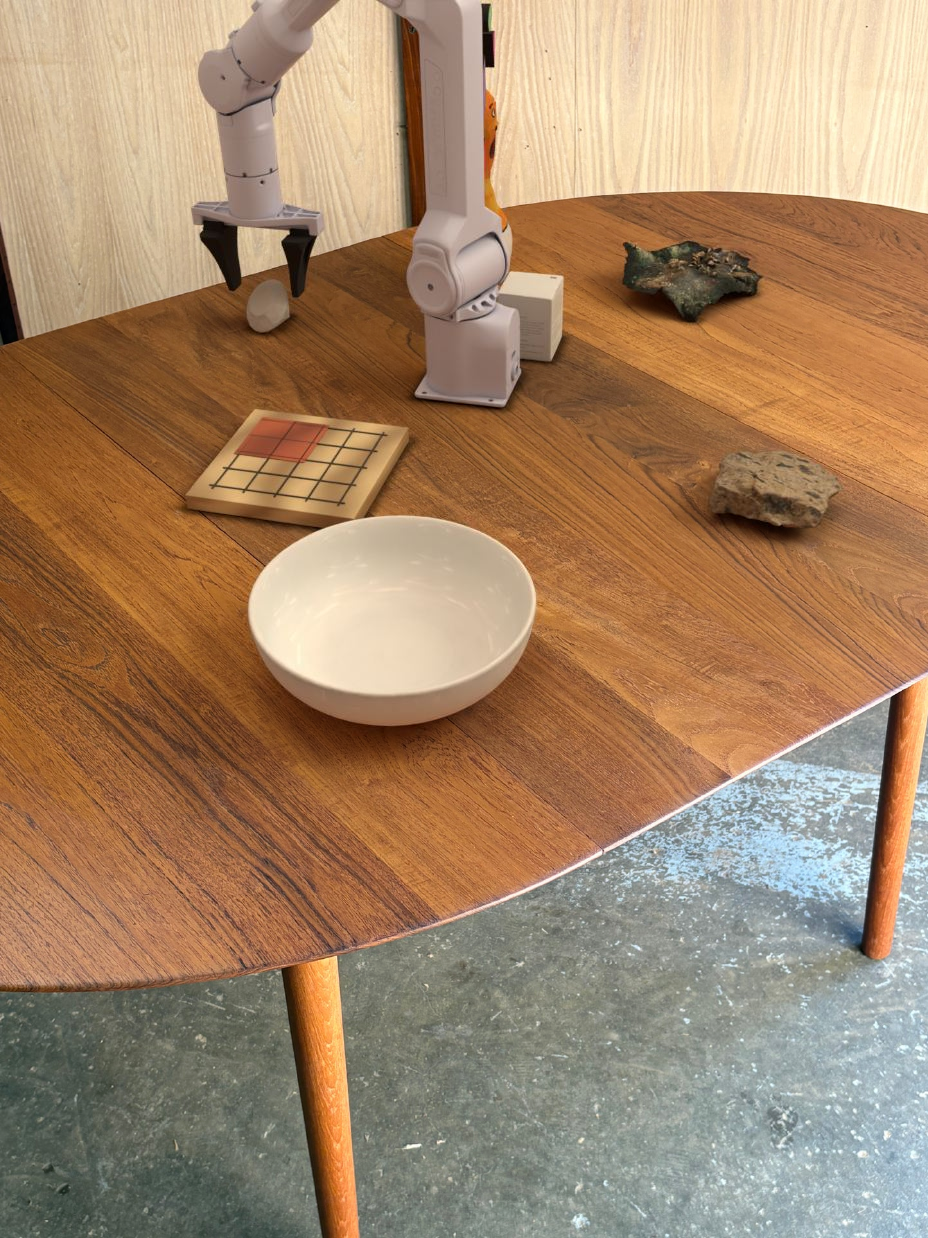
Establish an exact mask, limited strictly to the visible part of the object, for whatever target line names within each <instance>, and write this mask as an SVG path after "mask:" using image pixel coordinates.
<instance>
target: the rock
mask: <svg viewBox="0 0 928 1238" xmlns="http://www.w3.org/2000/svg"><path fill="white" fill-rule="evenodd" d="M718 468H719V470H718V474H717V477H716V478H715V481H714V483H713V487H712V492H711V494H710V496H709V498H708V500H707V507H708V510H709V512H712V513H714V514H726V513H731V514H734V515H737V516H739V515H740V516H742V517H744V518H747V519H752V520H759V521H762V522H767V523H769V524H771V525H774V526H776V527H780V526H781V525H782V527H784V528H796V529H805V530H806V529H807V530H809V529H816V528H818V527H819V526H820V525H822V522H823V518H824V516H825V512H827V509H828V508H829V500H830V499H832V498H833V497H835V496H836V495H838V494H839V493H840V492H841V490H842V487H843V484H842V483H841V482H840V480H839V478H838V477H837V476H834V475H831V474H830V472H829V471H826V469H825V467H823V466H822V465H821V464H820V463H818V462H812V461H811V460H809V459H808V458H804V457H800V456H798V455H797V454H796V453H790V452H789V451H786V450H771V451H766V452H765V451H759V452H757V453H755V452H754V453H753V452H750V451H746V450H742V451H741V450H740V451H738V452H730V453H727V454H726V455H725V456H723V458H722V461H720V463H719V466H718Z"/></svg>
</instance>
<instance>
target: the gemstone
mask: <svg viewBox="0 0 928 1238" xmlns="http://www.w3.org/2000/svg"><path fill="white" fill-rule="evenodd" d="M287 291H288V290H287V288H286V286H285V285H284V283H282V282H281V281H279V280H278V279H271V278H270V279H266V280H265V281H262V282H260V284H258V285H257V286H256V287H255V288H254V290H253V291H252V292H251V294H250V296H249V298H248V301H247V305H246V319H247V322H248V324H249V327H250V328H251V329H253V330H254V331H255V332H258V333H260V334H261V333H268V332H270V331H272V330H273V329H275V328H277V327H278V326H280V325H281V324H283V323H284V322H285V321H287V320H288V319H289V318H290V317H291V316H290V304H289V303H290V302H289V295H288V292H287Z"/></svg>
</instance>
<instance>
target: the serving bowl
mask: <svg viewBox="0 0 928 1238" xmlns="http://www.w3.org/2000/svg"><path fill="white" fill-rule="evenodd" d="M536 591H537V590H536V588H535V585H534V581H533V578H532V576H531V574H530V572H529V570H527V567H526V566H525V565H524V564H523V562H522V561H521V560H520V558H518V557H517V555H516V554H515V553H514V552H513V551H512V550H510V549H509V548H508V547H506V545H504V544H503V543H501V542H500V541H498V540H496V539H495V538H493V537H492V536H490V535H488V534H486V533H484V532H482V531H479V530H477V529H474V528H472V527H470V526H468V525H464V524H461V523H457V522H454V521H451V520H446V519H440V518H436V517H430V516H418V515H382V516H371V517H364V518H363V519H357V520H352V521H348V522H343V523H340V524H336V525H333V526H330V527H327V528H320V529H319V530H316V531H314V532H311V533H310V534H307V535H306V536H304V537H302V538H300V539H298V540H297V541H295V542H293V543H292V544H290V545H289V546H287V547H286V548H284V549H283V550H282V551H280V552H279V553H278V554H277V555H276V556H275V557H273V558H272V559H271V560H270V561H269V562H268V563H267V565H265V567H263V569H262V571H261V572H260V573H259V575H258V576H257V577H256V580H255V581H254V583H253V586H252V588H251V590H250V593H249V597H248V602H247V619H248V625H249V629H250V633H251V637H252V638H253V641H254V644H255V647H256V649H257V651H258V653H259V656H260V658H261V659H262V661H263V662H264V664H265V666H266V668H267V670H268V671H269V672H270V673H271V675H272V676H273V677H274V678H275V680H276V681H277V682H278V683H279V684H280V685H281V686H282V687H283V688H284V689H285V690H286V691H287V692H289V693H290V694H291V695H292V696H293V697H295V698H296V699H298V700H299V701H300V702H302V703H304V704H305V705H307V706H309V707H310V708H313V709H315V710H316V711H319V712H321V713H323V714H325V715H328V716H331V717H334V718H336V719H340V720H344V721H346V722H351V723H356V724H361V725H362V724H363V725H369V726H380V727H382V726H384V727H397V726H399V727H400V726H409V725H417V724H423V723H427V722H432V721H435V720H439V719H442V718H445V717H448V716H451V715H453V714H457V713H458V712H460V711H463V710H464V709H466V708H468V707H470V706H472V705H474V704H476V703H477V702H479V701H480V700H482V699H484V698H485V697H487V695H489V694H491V692H493V691H494V690H495V689H496V688H497V687H498V686H500V685H501V684H502V683H503V682H504V681H505V680H506V678H507V677H508V676H509V675H510V674H511V672H513V670H514V669H515V667H516V666H517V664H518V662H519V661H520V659H521V657H522V656H523V654H524V652H525V650H526V648H527V645H528V642H529V641H530V637H531V634H532V630H533V626H534V623H535V617H536V614H537V613H536V612H537V593H536Z"/></svg>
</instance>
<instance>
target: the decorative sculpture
mask: <svg viewBox="0 0 928 1238" xmlns="http://www.w3.org/2000/svg"><path fill="white" fill-rule="evenodd" d="M481 7H482V54H483V127H484V201H485V207H487V208H488V209H490V210H491V211H493V212H494V213H496V214H497V215H498V216H499V217H501V219H502V234H503V238H504V241H505V243H506V246H507V248H508V251H509V256H510V259H512V254H513V253H512V252H513V233H512V229H511V225H510V223H509V220H508V218H507V216H506V214H504V212H503V210H502V208H501V207H500V205H499V204H498V201H497V199H496V195H495V190H494V188H493V185H492V181H491V175H492V174H491V173H492V172H491V171H492V167H493V165H494V162H495V155H496V154H495V153H496V142H497V141H496V139H497V131H498V126H499V121H498V120H497V119H498V116H497V115H498V113H497V101H496V100H495V98H494V96H493V95H492V93H491V92H490V91H489V90H488V89H487V83H486V81H487V79H486V78H487V77H486V68H490V69H495V67H496V66H495V62H496V61H495V59H496V57H495V56H496V51H495V49H496V46H495V45H496V31H495V30H491V29H492V19H493V18H492V17H493V8H492V3H487V2H486V3H483V2H481Z"/></svg>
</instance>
